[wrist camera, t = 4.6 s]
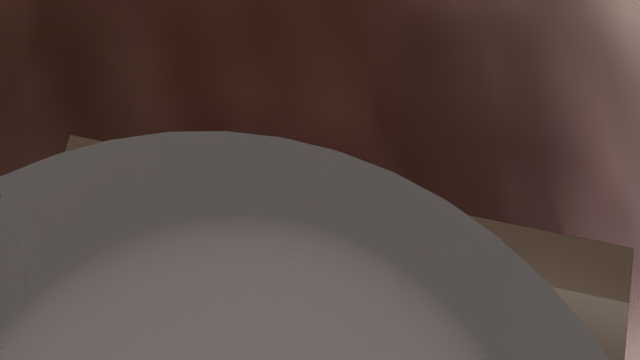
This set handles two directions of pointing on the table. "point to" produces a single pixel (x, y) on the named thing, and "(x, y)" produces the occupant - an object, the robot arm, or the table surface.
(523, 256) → the block with rectangular hole
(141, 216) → the axle
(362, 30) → the table surface
